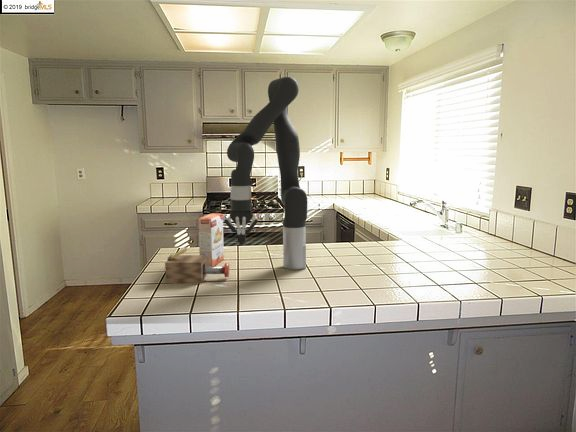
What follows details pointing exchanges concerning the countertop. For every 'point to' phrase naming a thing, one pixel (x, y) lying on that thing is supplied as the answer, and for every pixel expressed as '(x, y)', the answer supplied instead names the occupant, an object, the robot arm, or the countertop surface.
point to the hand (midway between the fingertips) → (241, 243)
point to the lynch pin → (217, 270)
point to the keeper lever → (177, 254)
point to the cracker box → (211, 238)
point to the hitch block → (185, 269)
